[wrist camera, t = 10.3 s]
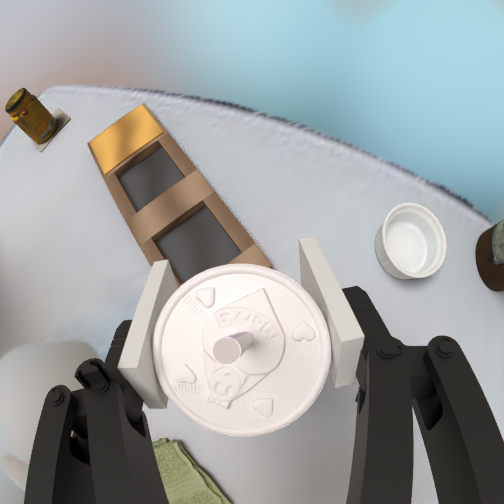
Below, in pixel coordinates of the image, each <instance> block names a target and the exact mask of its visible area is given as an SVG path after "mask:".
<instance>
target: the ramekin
mask: <svg viewBox="0 0 504 504" xmlns="http://www.w3.org/2000/svg"><path fill="white" fill-rule="evenodd" d="M446 244H447V243H446V237H445V233H444V230H443V228H442V226H441V224H440V222H439V220H438V219H437V218H436V216H435V215H434V214H433V213H432V212H431V211H429V210H428V209H427V208H425V207H423V206H421V205H419V204H415V203H403V204H399V205H397V206H395V207H394V208H393V209H392V210H391V211H390V212H389V213H388V214H387V216H386V218H385V220H384V222H383V223H382V225H381V226H380V228H379V230H378V232H377V235H376V238H375V250H376V255H377V258H378V260H379V262H380V264H381V265H382V267H383V268H384V269H385V270H386V271H387V272H388V273H389V274H390V275H392V276H394V277H396V278H399V279H413V278H425V277H428V276H430V275H432V274H434V273H435V272H436V271H437V270H438V269H439V268H440V267H441V265H442V263H443V262H444V259H445V255H446V249H447V245H446Z"/></svg>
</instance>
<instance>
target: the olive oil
mask: <svg viewBox="0 0 504 504" xmlns="http://www.w3.org/2000/svg"><path fill="white" fill-rule="evenodd" d="M476 262H477V267H478V270H479V273H480V276H481V278H482V280H483V281H484V283H485V284H486V285H487V286H488V287H489V288H490V289H492V290H494V291H503V290H504V220H502V221H501V222H499V223H498V224H496V225H495V226H493V227H491V228H490V229H488V230H486V231H485V232H484V233H482V234H481V236H480V237H479V239H478V242H477V246H476Z"/></svg>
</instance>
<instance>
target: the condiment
mask: <svg viewBox="0 0 504 504" xmlns="http://www.w3.org/2000/svg"><path fill="white" fill-rule="evenodd" d="M5 109H6V112H7V113H8V114H9V115H10V116H11V117H12V120H13V121H14V123H16V124H17V125H18V126H19V127H20V128H21V129H22V130H23V131H24V132H25V133H26V134H27V135H28V136H29V137H30V138H31V139H32V140H33V142H34V143H35V144H36V146H37V147H38V149H39V150H40V151H42V150H43V149H44V148H45V147H46V146H47V144H48V143H49V142H50V141H51V140H52V138H54V136H55V135H56V134H57V132H58V131H59V130H60V129H61V128H62V127H63V126H64V125H65V124H66V122H67V121H68V120H69V119H70V117H68V116H67V115H66V114H65V113H63V112H62V111H61V110H60V109H59V108H58V109H57V110H56V111H55V113H54V114H53V115H51V114H50V113H49V111H48V110H47V109H46V108H45V107H44V106H43V105H42V104H41V102H40V101H39V100H38V99H37V98H36V96H34V95H30V93H29V92H28V91H27V90H26V89H25V88H22V89H20V90H18V91H17V92H16V93H15V94H14V95H13V96H12V97H11V98H10V99H9V101H8V102H7V104H6V108H5Z"/></svg>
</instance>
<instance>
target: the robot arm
mask: <svg viewBox="0 0 504 504" xmlns="http://www.w3.org/2000/svg"><path fill="white" fill-rule="evenodd" d="M299 254H300V270H301V285H302V288H303V289H304V290H305V291H306V292H307V293H308V294H309V295H310V296H311V297H312V298H313V300H314V301H315V303H316V304H317V306H318V307H319V309H320V311H321V313H322V314H323V317H324V319H325V321H326V324H327V328H328V331H329V336H330V342H331V361H330V367H329V370H330V374H331V377H332V380H333V383H334V387H335V388H338V387H343V386H347V385H351V384H354V383H355V379H356V377H357V379H358V382H359V385H360V387H359V390H358V394H357V397H356V400H355V401H356V402H358V403H357V419H356V432H355V443H354V452H353V461H352V469H351V476H350V483H349V490H348V496H347V502H346V504H411V497H412V483H413V413H412V406H413V409H414V412H415V415H416V418H417V421H418V424H419V428H420V431H421V434H422V438H423V441H424V444H425V448H426V452H427V455H428V459H429V463H430V467H431V471H432V475H433V479H434V483H435V488H436V492H437V497H438V502H439V504H504V442H503V439H502V436H501V433H500V431H499V428H498V426H497V423H496V421H495V418H494V416H493V413H492V411H491V409H490V406H489V404H488V402H487V399H486V397H485V395H484V393H483V391H482V389H481V386H480V384H479V382H478V380H477V378H476V376H475V374H474V372H473V370H472V368H471V366H470V364H469V362H468V361H467V359H466V357H465V355H464V353H463V351H462V349H461V348H460V346H459V344H458V343H457V342H456V341H455V340H454V339H452V338H451V337H448V336H437V337H435V338H433V339H432V340H431V341H430V342H429V344H428V346H406V345H404V344H403V343H402V342H401V341H400V340H398V339H396V338H394V337H392V336H391V335H390V333H389V331H388V329H387V328H386V326H385V324H384V322H383V320H382V319H381V317H380V315H379V313H378V312H377V310H376V309H375V306H374V305H373V303H372V302H371V300H370V298H369V296H368V294H367V293H366V292H365V291H364V290H362V289H361V288H360V287H358V286H354V287H349V288H344V289H341V287H340V285H339V283H338V281H337V279H336V277H335V275H334V273H333V272H332V270H331V268H330V266H329V264H328V262H327V260H326V258H325V256H324V254H323V253H322V251H321V249H320V247H319V245H318V243H317V242H316V240H315V238H314V237H308V238H301V239H299ZM177 289H178V287H177V284H176V281H175V278H174V275H173V272H172V269H171V266H170V263H169V260H162V261H156V262H154V264H153V266H152V269H151V271H150V274H149V276H148V279H147V282H146V284H145V287H144V290H143V292H142V295H141V298H140V301H139V303H138V306H137V309H136V312H135V315H134V318H133V320H125V321H123V322H122V323H121V324H120V326H119V327H118V328H117V329H116V332H115V335H114V338H113V339H114V340H112V343H111V347H110V349H109V352H108V354H107V357H106V360H105V363H104V362H103V361H102V360H100V359H97V358H94V359H89V360H86V361H84V362H83V363H82V364H81V365H80V366H79V367H78V369H77V370H76V373H75V377H76V379H77V380H78V381H79V382H80V383H81V384H82V386H83V387H84V389H80V390H76V391H72V392H71V391H70V390H69V389H68V388H67V387H66V386H64V385H58V386H55V387H53V388H52V389H51V390H50V391H49V392H48V394H47V396H46V399H45V402H44V405H43V409H42V413H41V416H40V420H39V424H38V427H37V432H36V436H35V440H34V444H33V449H32V454H31V459H30V464H29V470H28V476H27V483H26V491H25V500H24V504H169V501H168V498H167V495H166V492H165V489H164V485H163V482H162V479H161V475H160V472H159V468H158V464H157V461H156V457H155V453H154V449H153V445H152V441H151V436H150V432H149V428H148V423H147V418H146V415H145V413H144V412H143V411H142V406H143V402H144V403H145V404H146V405H147V406H148V408H154V409H167V402H168V397H167V395H166V394H165V392H164V391H163V389H162V387H161V385H160V382H159V380H158V377H157V374H156V371H155V367H154V361H153V337H154V331H155V327H156V324H157V321H158V318H159V316H160V313H161V311H162V309H163V308H164V306H165V304H166V303H167V301H168V300H169V298H170V297H171V296H172V295H173V294H174V292H175V291H176V290H177ZM71 431H73V432H74V433H73V435H72V437H71Z"/></svg>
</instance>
